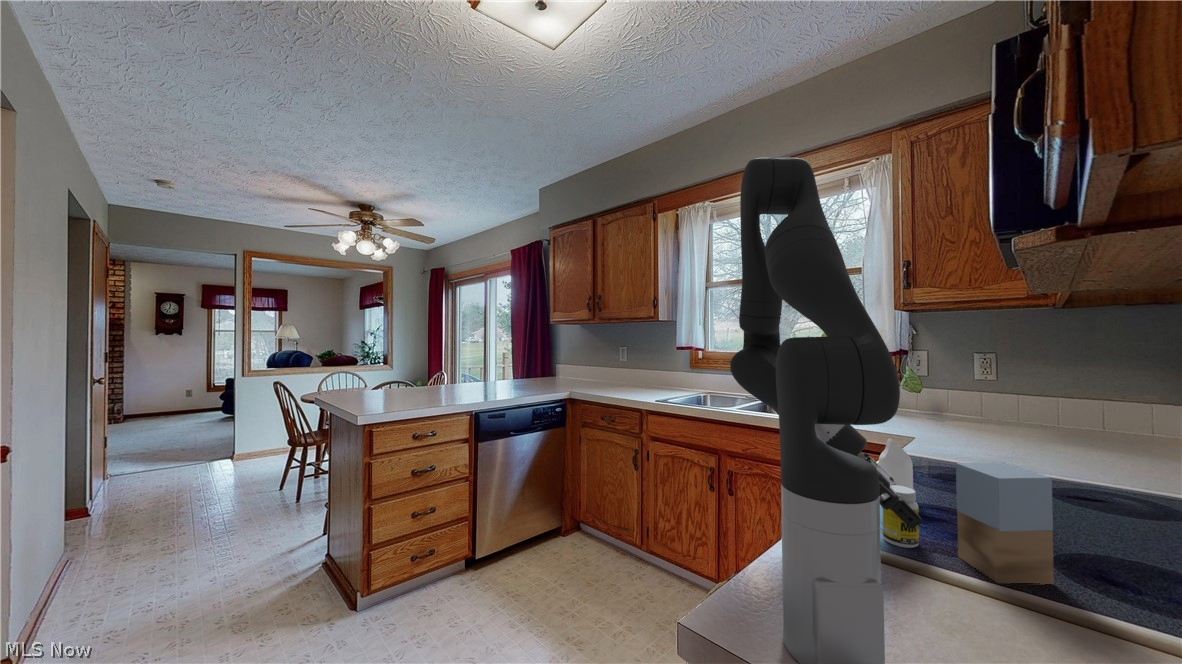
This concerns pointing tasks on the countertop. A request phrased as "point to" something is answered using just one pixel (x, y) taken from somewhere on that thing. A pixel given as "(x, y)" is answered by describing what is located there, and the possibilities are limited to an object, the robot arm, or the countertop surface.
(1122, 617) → the countertop surface
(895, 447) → the white bottle
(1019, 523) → the slate block
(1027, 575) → the walnut block
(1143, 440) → the countertop surface
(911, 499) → the supplement bottle
